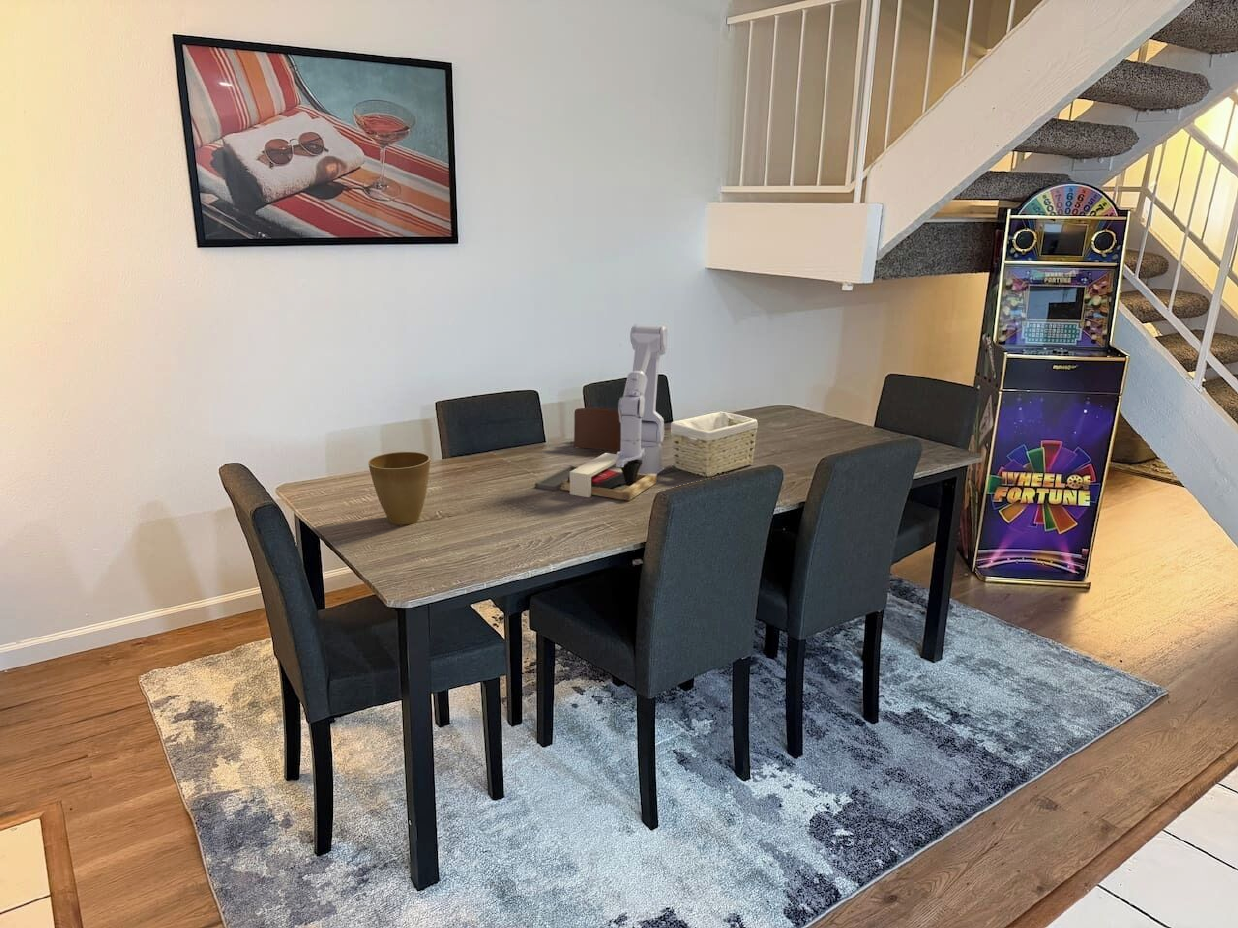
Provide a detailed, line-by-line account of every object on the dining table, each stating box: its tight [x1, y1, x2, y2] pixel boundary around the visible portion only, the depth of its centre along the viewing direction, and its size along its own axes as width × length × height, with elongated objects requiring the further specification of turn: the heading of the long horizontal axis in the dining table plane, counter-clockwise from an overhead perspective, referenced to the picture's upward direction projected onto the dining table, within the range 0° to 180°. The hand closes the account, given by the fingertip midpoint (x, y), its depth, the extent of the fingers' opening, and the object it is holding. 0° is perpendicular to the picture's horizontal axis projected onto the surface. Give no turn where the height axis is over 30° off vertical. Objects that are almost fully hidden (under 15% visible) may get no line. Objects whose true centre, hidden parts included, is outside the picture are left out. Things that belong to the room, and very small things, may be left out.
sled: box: [560, 473, 658, 501], centre depth 249 cm, size 18×21×2 cm
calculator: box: [568, 466, 626, 489], centre depth 250 cm, size 11×4×15 cm
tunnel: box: [534, 452, 619, 498], centre depth 253 cm, size 22×18×6 cm
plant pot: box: [368, 451, 431, 526], centre depth 219 cm, size 15×15×16 cm
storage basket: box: [670, 411, 759, 478], centre depth 269 cm, size 24×16×15 cm
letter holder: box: [573, 407, 621, 452], centre depth 291 cm, size 10×20×14 cm, turn 75°
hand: (630, 485), depth 247 cm, fingers closed
